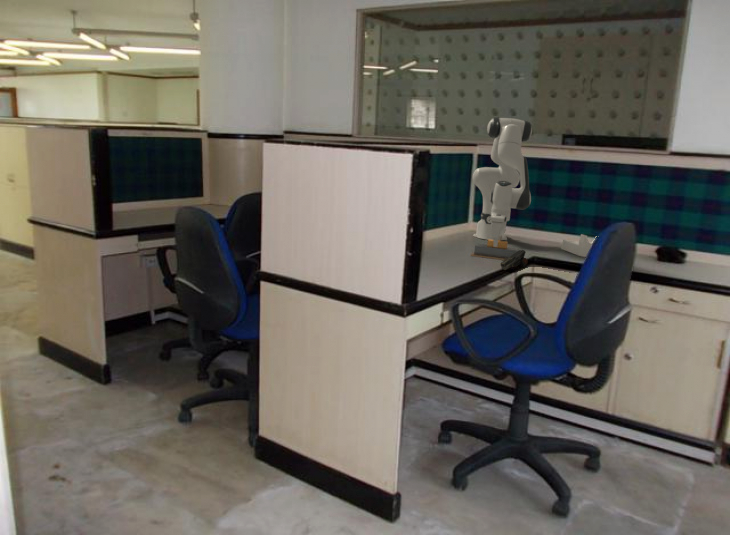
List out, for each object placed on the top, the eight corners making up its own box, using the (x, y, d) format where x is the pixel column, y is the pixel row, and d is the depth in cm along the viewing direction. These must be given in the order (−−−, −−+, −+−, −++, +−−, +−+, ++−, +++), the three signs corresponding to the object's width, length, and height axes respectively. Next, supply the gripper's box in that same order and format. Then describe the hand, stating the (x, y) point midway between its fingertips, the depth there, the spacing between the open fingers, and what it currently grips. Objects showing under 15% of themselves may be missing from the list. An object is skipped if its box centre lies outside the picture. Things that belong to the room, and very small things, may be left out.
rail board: (475, 251, 302) (476, 242, 301) (521, 257, 295) (522, 247, 294) (470, 255, 291) (471, 246, 290) (517, 261, 284) (518, 252, 283)
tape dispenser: (597, 258, 307) (602, 237, 305) (580, 256, 304) (585, 235, 302) (577, 250, 324) (581, 231, 322) (561, 248, 321) (565, 229, 319)
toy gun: (504, 282, 269) (499, 263, 264) (524, 263, 276) (520, 244, 271) (508, 283, 268) (503, 264, 263) (528, 264, 275) (524, 245, 270)
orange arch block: (487, 252, 296) (488, 239, 294) (506, 254, 293) (507, 241, 291) (486, 253, 293) (487, 240, 291) (505, 256, 290) (506, 242, 288)
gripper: (497, 212, 299) (494, 240, 302) (489, 218, 281) (486, 247, 284) (510, 214, 297) (507, 242, 300) (503, 219, 278) (500, 249, 281)
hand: (497, 245), depth 292 cm, fingers open, 8 cm apart
